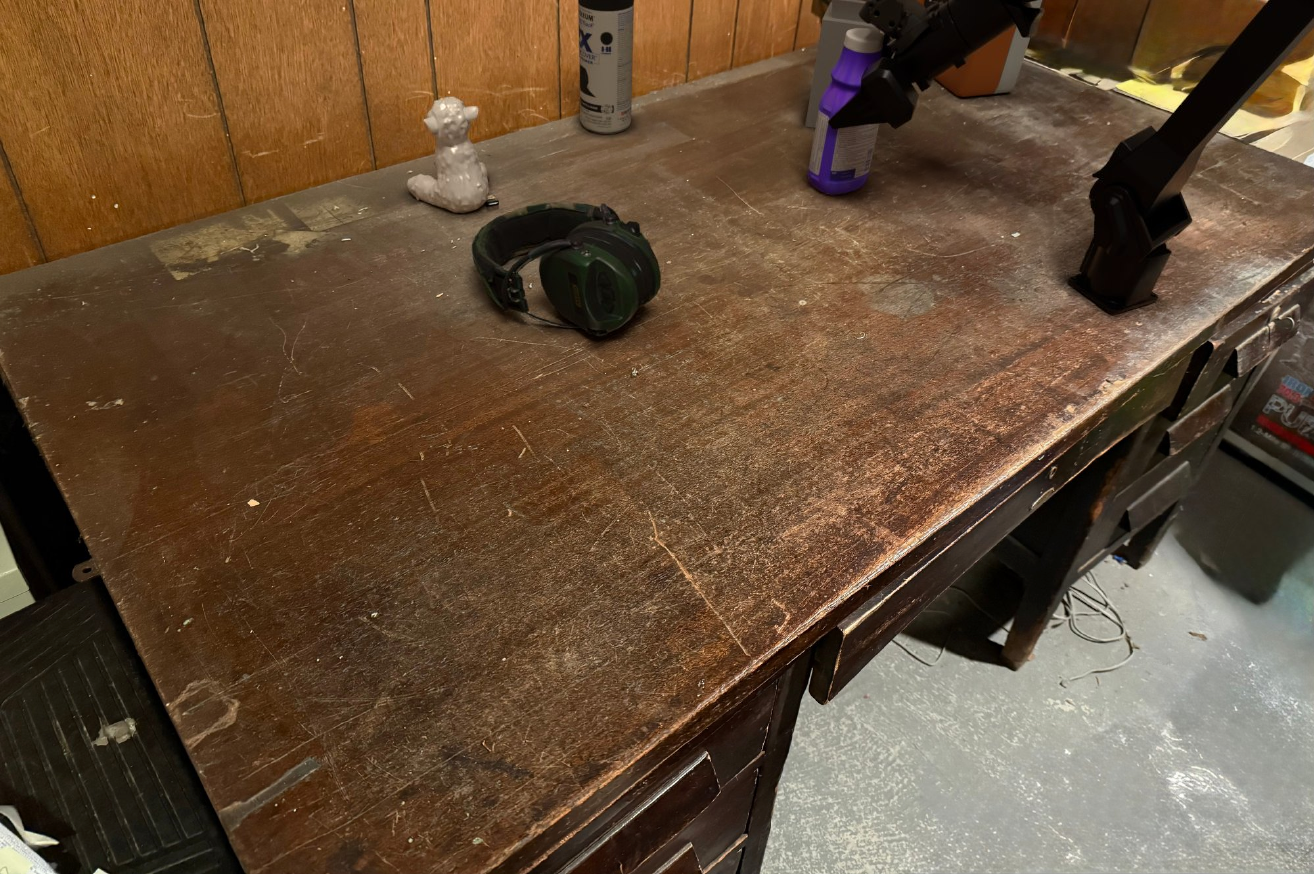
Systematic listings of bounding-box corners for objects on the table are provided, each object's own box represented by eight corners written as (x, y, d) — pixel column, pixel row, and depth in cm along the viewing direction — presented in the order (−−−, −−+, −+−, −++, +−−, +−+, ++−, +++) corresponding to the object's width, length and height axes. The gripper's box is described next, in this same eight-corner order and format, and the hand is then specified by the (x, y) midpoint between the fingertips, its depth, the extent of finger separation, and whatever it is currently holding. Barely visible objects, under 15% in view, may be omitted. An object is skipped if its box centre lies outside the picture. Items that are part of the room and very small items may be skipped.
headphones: (703, 231, 86) (541, 201, 95) (642, 178, 74) (463, 150, 83) (663, 363, 86) (504, 320, 95) (595, 331, 74) (421, 285, 83)
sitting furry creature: (483, 173, 105) (472, 71, 96) (516, 206, 100) (507, 101, 91) (407, 192, 101) (388, 88, 92) (436, 227, 96) (420, 120, 87)
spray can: (572, 117, 117) (567, -51, 103) (620, 109, 119) (621, -56, 105) (591, 138, 112) (589, -33, 98) (640, 130, 114) (644, -39, 101)
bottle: (845, 168, 109) (873, 20, 97) (875, 188, 105) (908, 37, 93) (797, 181, 106) (820, 30, 94) (827, 202, 103) (854, 48, 91)
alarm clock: (897, 52, 137) (930, -99, 123) (946, 48, 139) (985, -101, 125) (960, 101, 125) (1006, -60, 110) (1014, 96, 127) (1065, -64, 113)
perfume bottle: (805, 126, 117) (828, -20, 105) (813, 106, 122) (837, -37, 109) (856, 134, 116) (885, -13, 103) (862, 114, 121) (892, -30, 108)
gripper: (932, -67, 94) (814, 25, 104) (905, -17, 81) (773, 83, 91) (986, 22, 97) (867, 103, 108) (969, 84, 85) (835, 169, 95)
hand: (837, 112), depth 100 cm, fingers closed on bottle, 7 cm apart
